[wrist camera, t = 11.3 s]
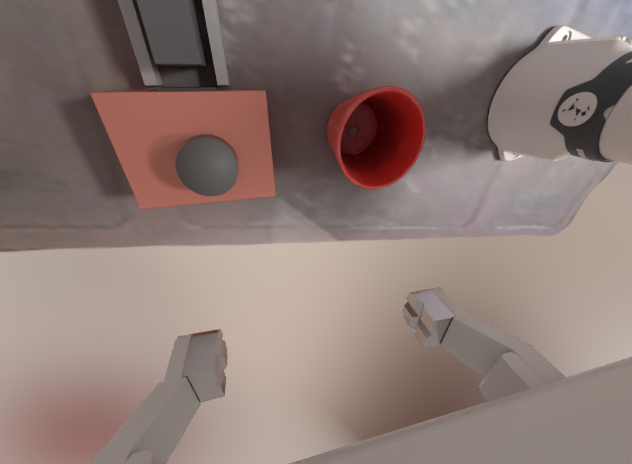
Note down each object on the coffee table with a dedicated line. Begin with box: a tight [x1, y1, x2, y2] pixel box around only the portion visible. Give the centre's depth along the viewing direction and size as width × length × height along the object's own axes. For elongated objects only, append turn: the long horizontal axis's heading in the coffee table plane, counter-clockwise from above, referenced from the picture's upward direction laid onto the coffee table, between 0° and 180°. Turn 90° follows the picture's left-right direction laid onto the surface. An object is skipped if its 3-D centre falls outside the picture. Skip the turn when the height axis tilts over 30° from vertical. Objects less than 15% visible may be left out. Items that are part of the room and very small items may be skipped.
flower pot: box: [327, 86, 426, 189], centre depth 31 cm, size 11×11×10 cm
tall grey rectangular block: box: [137, 0, 207, 66], centre depth 23 cm, size 4×7×5 cm, turn 0°
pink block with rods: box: [90, 0, 276, 209], centre depth 25 cm, size 16×22×8 cm
